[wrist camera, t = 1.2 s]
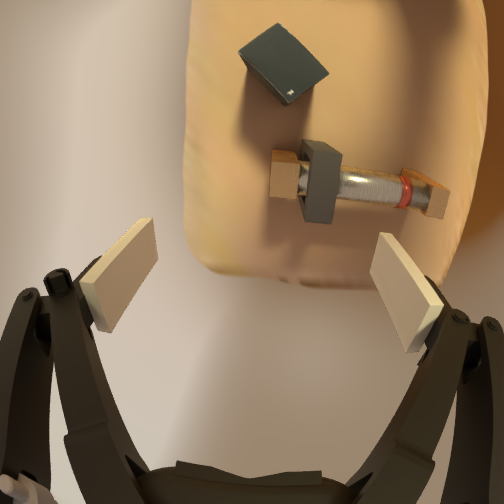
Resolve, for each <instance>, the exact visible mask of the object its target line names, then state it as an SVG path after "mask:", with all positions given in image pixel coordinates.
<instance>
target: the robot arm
mask: <svg viewBox="0 0 504 504" xmlns="http://www.w3.org/2000/svg"><path fill="white" fill-rule="evenodd" d="M154 233H155V232H154V224H153V218H140V219H139V220H138V221H137V222H136V223H135V224H134V225H133V226H132V227H131V228H130V229H129V230H128V231H127V232H126V233H125V234H124V235H123V236H122V237H121V238H120V239H119V240H118V241H117V242H116V243H115V244H114V245H113V246H112V247H111V248H110V249H109V250H108V251H107V252H106V253H105V254H104V255H103V256H99V257H98V258H96V259H94V260H93V261H92V262H91V263H90V264H89V265H88V267H86V268H85V269H84V271H83V272H81V274H80V275H79V276H78V277H77V278H76V279H75V280H74V281H73V282H72V279H71V276H70V273H69V271H68V270H67V269H65V268H60V269H56V270H53V271H51V272H50V273H48V274H47V275H46V276H45V278H44V280H43V281H44V284H45V286H46V289H47V292H48V294H49V296H40V294H39V291H38V290H37V289H36V288H26V289H25V290H23V291H22V292H21V293H20V294H19V295H18V296H17V298H16V301H15V303H14V305H13V308H12V310H11V313H10V315H9V318H8V320H7V323H6V326H5V329H4V331H3V335H2V337H1V340H0V504H58V503H57V502H56V501H55V500H54V498H53V496H52V494H51V493H50V488H51V465H50V445H49V414H50V413H49V412H50V395H51V382H52V373H53V364H54V365H55V372H56V378H57V384H58V389H59V395H60V400H61V404H62V409H63V413H64V417H65V421H66V425H67V429H68V434H67V435H65V436H64V444H65V448H66V451H67V455H68V458H69V461H70V464H71V467H72V470H73V473H74V475H75V478H76V481H77V483H78V485H79V488H80V491H81V493H82V495H83V497H84V500H85V502H86V504H416V502H417V501H418V499H419V497H420V496H421V494H422V492H423V490H424V488H425V486H426V484H427V483H428V481H429V479H430V477H431V474H432V472H433V470H434V467H435V461H433V460H432V456H433V453H434V451H435V449H436V446H437V444H438V442H439V439H440V437H441V434H442V432H443V429H444V427H445V424H446V421H447V418H448V416H449V413H450V409H451V406H452V404H453V400H454V397H455V393H456V390H457V402H456V418H455V428H454V436H453V444H452V451H451V457H450V462H449V468H448V472H447V477H446V481H445V486H444V490H443V494H442V498H441V503H440V504H504V333H503V330H502V327H501V325H500V323H499V322H498V321H497V320H496V319H495V318H492V317H489V316H486V317H484V318H483V319H482V321H481V323H480V324H476V323H471V322H470V319H469V317H468V316H467V315H466V314H465V313H464V312H462V311H460V310H458V309H452V308H451V306H450V305H449V303H448V302H447V300H446V299H445V297H444V296H443V294H441V292H440V290H439V289H438V287H437V286H436V284H435V283H434V282H433V281H432V280H431V279H430V278H429V277H427V276H425V275H423V274H422V272H421V271H420V270H419V268H418V267H417V266H416V264H415V263H414V262H413V260H412V259H411V258H410V256H409V255H408V254H407V253H406V251H405V250H404V249H403V247H402V246H401V245H400V244H399V242H398V241H397V240H396V239H395V237H394V236H393V235H392V234H391V233H384V232H380V233H379V237H378V241H377V245H376V249H375V253H374V257H373V261H372V264H371V268H370V271H369V273H370V275H371V277H372V279H373V281H374V283H375V285H376V287H377V289H378V291H379V294H380V296H381V298H382V300H383V302H384V304H385V306H386V309H387V311H388V313H389V315H390V318H391V319H392V322H393V324H394V326H395V329H396V331H397V334H398V336H399V339H400V341H401V343H402V346H403V348H404V351H405V353H411V352H419V350H420V349H421V347H422V345H423V344H424V343H425V345H426V347H427V350H426V351H425V353H424V355H423V356H422V358H421V359H420V361H419V363H418V364H417V365H419V367H418V369H417V371H416V373H415V376H414V378H413V380H412V382H411V384H410V386H409V388H408V390H407V392H406V394H405V396H404V398H403V400H402V402H401V404H400V406H399V407H398V409H397V411H396V413H395V415H394V416H393V418H392V420H391V422H390V423H389V425H388V427H387V428H386V430H385V432H384V433H383V435H382V437H381V438H380V440H379V442H378V443H377V445H376V446H375V448H374V449H373V451H372V452H371V454H370V455H369V457H368V458H367V459H366V461H365V462H364V464H363V465H362V466H361V468H360V469H359V470H358V471H357V472H356V473H355V474H354V475H353V476H352V477H351V478H350V479H349V481H348V482H347V483H346V484H345V485H344V484H342V483H340V482H338V481H335V480H333V479H329V478H325V477H322V472H321V471H303V472H283V473H279V474H274V475H268V476H263V477H257V478H250V479H249V478H244V477H240V476H237V475H234V474H231V473H228V472H225V471H222V470H219V469H217V468H214V467H211V466H204V465H198V464H192V463H187V462H182V461H177V462H176V466H175V467H165V468H160V469H156V470H152V471H150V470H149V468H148V467H147V465H146V464H145V462H144V461H143V460H142V458H141V456H140V455H139V453H138V452H137V450H136V448H135V446H134V444H133V442H132V440H131V437H130V435H129V433H128V431H127V429H126V427H125V424H124V422H123V420H122V417H121V415H120V413H119V410H118V408H117V405H116V403H115V400H114V398H113V395H112V393H111V390H110V387H109V384H108V382H107V379H106V376H105V373H104V370H103V367H102V364H101V361H100V358H99V354H98V351H97V347H96V344H95V340H94V336H93V333H92V330H91V328H90V326H91V324H92V323H93V321H94V323H95V325H96V327H97V330H98V331H102V332H107V333H112V331H113V329H114V328H115V326H116V324H117V322H118V321H119V319H120V318H121V316H122V314H123V313H124V311H125V309H126V308H127V306H128V305H129V303H130V301H131V300H132V298H133V297H134V295H135V294H136V292H137V290H138V289H139V287H140V286H141V284H142V282H143V281H144V280H145V278H146V276H147V275H148V274H149V272H150V271H151V269H152V268H153V266H154V265H155V263H156V262H157V260H158V254H157V247H156V240H155V234H154Z"/></svg>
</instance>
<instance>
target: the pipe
mask: <svg viewBox="0 0 504 504" xmlns="http://www.w3.org/2000/svg"><path fill="white" fill-rule="evenodd" d="M309 164H310V162H307V161H298V159H297V157H296V155H295V153H294V151H284V150H272V161H271V175H270V196H269V197H279V198H290V199H296V198H297V195H305V196H306V190H307V182H308V173H309ZM449 194H450V190H448V189H447V188H445V187H443V186H442V185H440V184H438V183H437V182H435V181H433V180H431V179H430V178H428V177H426V176H424V175H423V174H421V173H419V172H416V171H412V170H407V169H402V174H401V176H399V175H392V174H387V173H382V172H376V171H371V170H365V169H359V168H352V167H346V166H341V169H340V176H339V183H338V189H337V195H336V199H341V200H349V201H357V202H364V203H372V204H378V205H385V206H392V207H395V208H402V209H410V210H416V211H420V212H421V213H423V214H424V215H425V216H427V217H433V218H439V219H443V216H444V213H445V209H446V205H447V202H448V198H449Z"/></svg>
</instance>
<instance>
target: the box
mask: <svg viewBox="0 0 504 504" xmlns="http://www.w3.org/2000/svg"><path fill="white" fill-rule="evenodd" d="M238 54H239V55H240V57H241V58H242V60H243V61H244V63H245V65H246V67H247V68H248V69H249V70H250V71H251V72H252V73H253V74H254V75H255V76H256V77H257V78H258V79H259V80H260V81H261V82H262V83H263V84H264V85H265V86H266V87H267V89H268V90H269V91H270V92H271V93H272V94H273V95H274V96H275V97H276V98H277V99H278V100H279V101H280V102H281V103H282V104H283V105H284V106H286V105H288V104H289V103H291V102H292V101H293V100H295V99H296V98H297V97H299V96H300V95H302V94H303V93H304V92H306V91H307V90H308V89H310V88H311V87H312V86H314V85H315V84H317V83H318V82H319V81H321V80H322V79H323V78H325V77H326V76H328V75H329V72H328V71H327V70H326V69H325V68H324V67H323V66H322V65H321V64H320V62H319V61H318V60H317V59H316V58H315V57H314V56H313V55H312V54H311V53H310V52H309V51H308V50H307V49H306V48H305V47H304V46H303V45H302V44H301V43H300V42H299V41H298V40H297V39H296V38H295V37H294V36H293V35H292V34H291V33H290V32H289V31H288V30H287V29H285V28H284V27H283V26H282V25H281V24H280V23H279V22H278V23H276V24H275V25H273V26H272V27H270V28H269V29H268V30H266V31H265V32H263V33H262V34H260V35H259V36H258V37H256V38H255V39H254V40H252V41H251V42H249V43H248V44H247V45H245V46H244V47H243V48H241V49H240V50H239V51H238Z"/></svg>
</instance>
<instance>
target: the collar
mask: <svg viewBox="0 0 504 504" xmlns="http://www.w3.org/2000/svg"><path fill="white" fill-rule="evenodd" d="M301 161H307V162H310V164H309V173H308V182H307V190H306V196H305V195H298V198H299V201H300V205H301V209H302V213H303V217H304V221H305V222H312V223H322V224H332V219H333V213H334V208H335V202H336V195H337V189H338V183H339V176H340V169H341V161H342V154H341V153H340V152H338V151H337V150H335V149H334V148H332V147H331V146H329V145H328V144H326V143H325V142H320V141H312V140H303V139H302V150H301Z"/></svg>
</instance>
